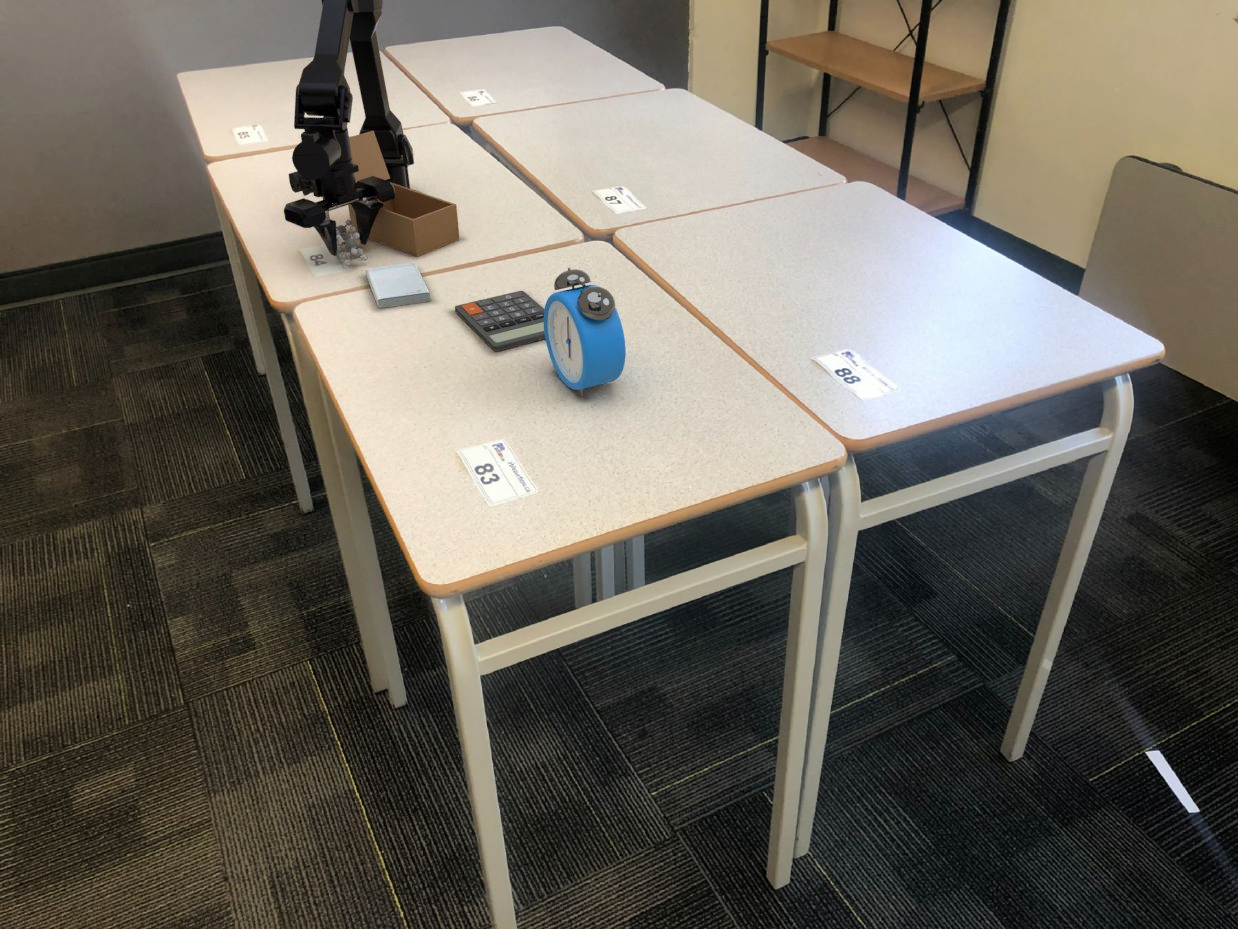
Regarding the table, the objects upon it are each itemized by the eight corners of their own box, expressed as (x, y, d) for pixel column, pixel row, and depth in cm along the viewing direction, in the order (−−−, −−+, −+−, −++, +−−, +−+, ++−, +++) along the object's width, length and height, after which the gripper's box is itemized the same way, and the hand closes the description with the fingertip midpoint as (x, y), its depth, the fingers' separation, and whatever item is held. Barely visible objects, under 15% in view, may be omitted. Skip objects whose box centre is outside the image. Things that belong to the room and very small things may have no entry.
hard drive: (429, 291, 148) (415, 260, 158) (377, 299, 146) (364, 267, 155) (431, 301, 149) (416, 270, 159) (378, 309, 147) (366, 276, 156)
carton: (352, 231, 172) (346, 196, 168) (394, 216, 178) (390, 182, 175) (417, 256, 163) (412, 220, 159) (459, 239, 170) (456, 204, 166)
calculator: (522, 289, 151) (566, 327, 140) (522, 294, 151) (566, 332, 141) (453, 304, 146) (494, 345, 135) (454, 310, 146) (494, 351, 136)
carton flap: (346, 192, 168) (345, 192, 168) (390, 178, 174) (389, 178, 174) (328, 143, 164) (327, 143, 165) (373, 130, 171) (372, 130, 171)
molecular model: (370, 268, 159) (366, 240, 156) (345, 272, 158) (340, 244, 155) (353, 239, 169) (349, 212, 166) (329, 243, 168) (325, 215, 165)
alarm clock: (543, 365, 133) (539, 265, 124) (583, 355, 136) (581, 256, 127) (586, 409, 124) (585, 304, 115) (627, 397, 126) (629, 294, 118)
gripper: (348, 135, 164) (362, 222, 173) (254, 162, 152) (274, 254, 161) (391, 148, 158) (402, 238, 167) (297, 177, 146) (314, 272, 155)
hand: (348, 249), depth 163 cm, fingers open, 6 cm apart
